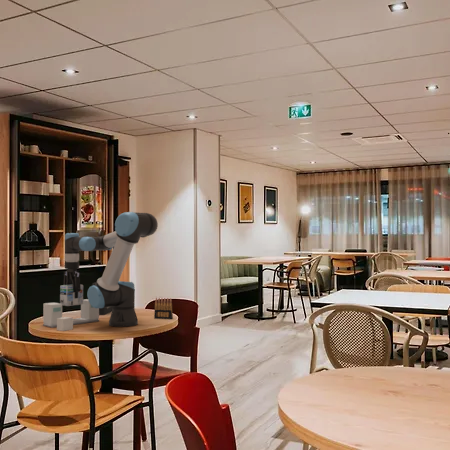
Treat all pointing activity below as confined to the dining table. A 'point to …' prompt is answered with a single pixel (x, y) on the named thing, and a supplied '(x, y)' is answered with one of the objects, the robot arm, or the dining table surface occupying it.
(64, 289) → the light bulb box
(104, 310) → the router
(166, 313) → the ammunition clip
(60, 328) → the block
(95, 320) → the rail assembly
